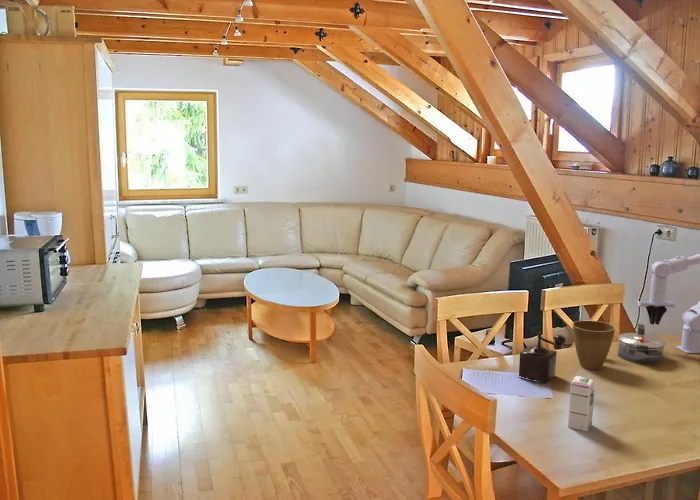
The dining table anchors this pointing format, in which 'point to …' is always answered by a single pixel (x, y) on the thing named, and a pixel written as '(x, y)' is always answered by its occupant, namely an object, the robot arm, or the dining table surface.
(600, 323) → the plant pot
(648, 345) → the lid
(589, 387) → the syrup box
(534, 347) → the manual coffee grinder
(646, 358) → the clear plastic food container
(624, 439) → the dining table surface
